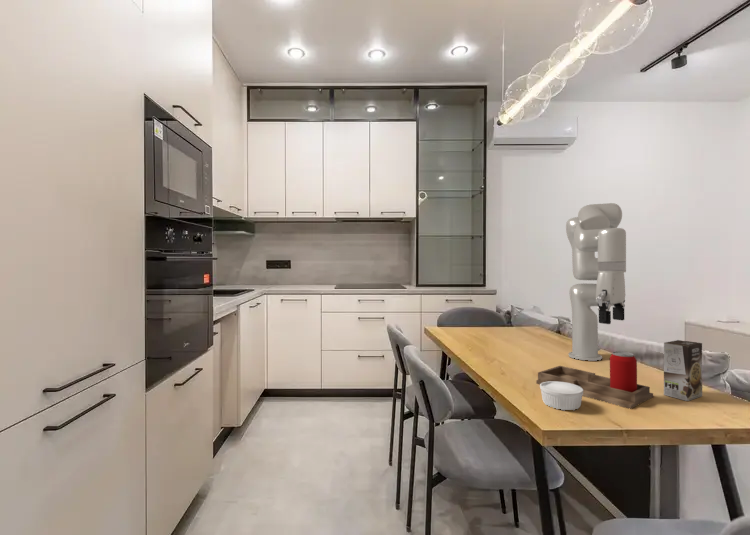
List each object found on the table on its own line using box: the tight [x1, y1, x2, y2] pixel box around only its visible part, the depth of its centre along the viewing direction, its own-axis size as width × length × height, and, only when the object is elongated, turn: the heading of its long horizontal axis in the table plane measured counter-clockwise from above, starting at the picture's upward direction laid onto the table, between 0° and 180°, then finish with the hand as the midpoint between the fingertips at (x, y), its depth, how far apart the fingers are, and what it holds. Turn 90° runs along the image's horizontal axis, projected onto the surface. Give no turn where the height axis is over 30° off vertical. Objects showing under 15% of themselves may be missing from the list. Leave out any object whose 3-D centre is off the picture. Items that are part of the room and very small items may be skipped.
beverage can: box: [609, 351, 638, 392], centre depth 111 cm, size 7×7×12 cm
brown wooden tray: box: [535, 365, 654, 410], centre depth 118 cm, size 28×16×4 cm, turn 35°
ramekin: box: [539, 381, 583, 411], centre depth 106 cm, size 11×11×5 cm
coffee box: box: [663, 339, 703, 402], centre depth 112 cm, size 9×6×16 cm
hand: (611, 321), depth 117 cm, fingers open, 9 cm apart
